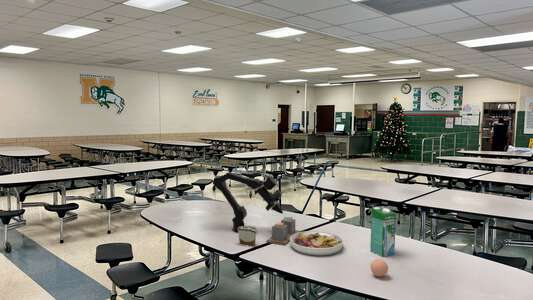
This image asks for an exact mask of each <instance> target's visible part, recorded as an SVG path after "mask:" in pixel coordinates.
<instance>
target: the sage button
mask: <svg viewBox="0 0 533 300" xmlns="http://www.w3.org/2000/svg"><path fill="white" fill-rule="evenodd" d="M283 219H284V221H292V219H293V215H288V214H285V216H284V218H283Z"/></svg>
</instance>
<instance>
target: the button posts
mask: <svg viewBox="0 0 533 300" xmlns="http://www.w3.org/2000/svg"><path fill="white" fill-rule="evenodd" d="M280 223H284V226H283V227H276V223H275V224H274V225H271V237H272V240H277V241H284V240H285V239H287V234H290V235H292V234H293V233H294V232H295V230H296V219H295V218H292V221H284V218H283V219H281V220H280Z"/></svg>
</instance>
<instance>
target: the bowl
mask: <svg viewBox="0 0 533 300" xmlns="http://www.w3.org/2000/svg"><path fill="white" fill-rule="evenodd" d="M289 243H290V246H291V247H292V248H293V249H294V250H295V251H297V252H299V253H301V254H305V255H310V256H328V255H329V256H330V255H333V254H336V253H337V252H339V251H340V250H341V249H342V248H343V246H344V240H343V238H342V237H341V236H339V235H337V234H334V233H331V232H325V231H319V230H318V231H316V230H314V231H313V230H310V231H308V230H307V231H300V232H299V233H296V234H294V235H292V236H291V237H290V242H289Z"/></svg>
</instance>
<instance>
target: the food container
mask: <svg viewBox="0 0 533 300" xmlns="http://www.w3.org/2000/svg"><path fill="white" fill-rule="evenodd" d="M237 231H238V232H237V233H238V242H239V245H240V244H241V246H246V245H248V246H247V247H251V246H253V248H254V247H255V245H256V238H257V237H256V236H257V234H258V230H257V228H256V227H255V226H252V225H244V226H241V227H238V229H237Z"/></svg>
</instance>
